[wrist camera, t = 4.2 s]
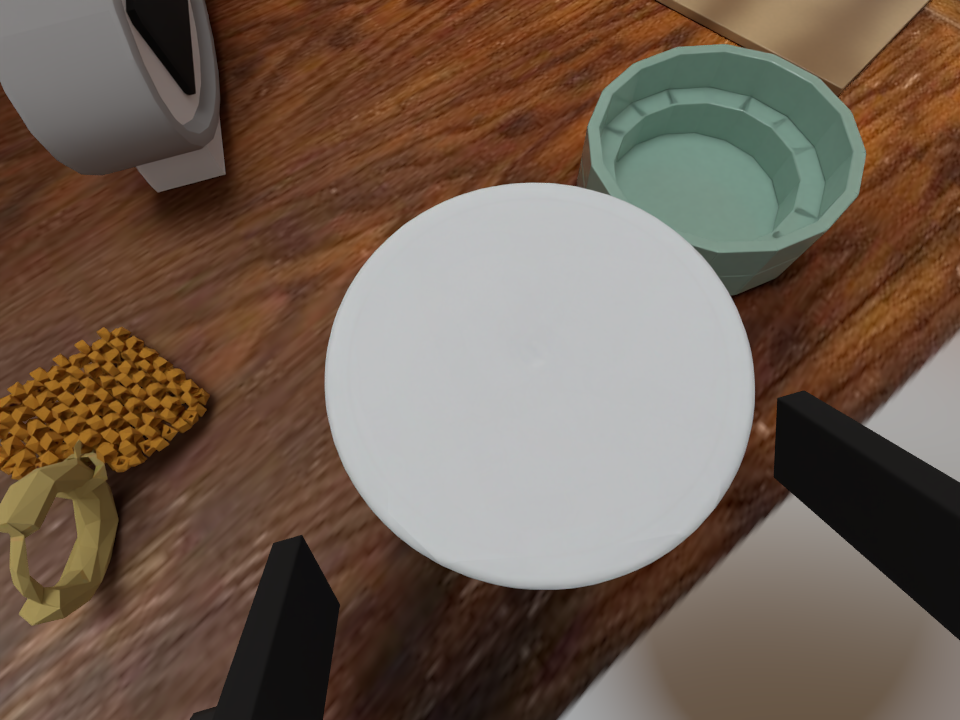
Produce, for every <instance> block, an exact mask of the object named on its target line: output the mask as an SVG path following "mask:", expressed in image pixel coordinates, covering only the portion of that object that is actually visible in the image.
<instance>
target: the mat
mask: <svg viewBox="0 0 960 720" xmlns="http://www.w3.org/2000/svg"><path fill="white" fill-rule="evenodd" d="M656 1H658V2H660V3H662V4H664V5H666V6H668V7H669V8H671V9H673V10H675V11H677V12H679V13H681V14H683V15H685V16H686V17H688V18H690V19H692V20H694V21H696V22H698V23H700V24H702V25H703V26H705V27H707V28H709V29H711V30H713V31H715V32H717V33H719V34H720V35H722V36H724V37H726V38H728V39H730V40H732V41H734V42H735V43H737V44H739V45H741V46H743V47H745V48H747V49H751V50H756V51H761V52H766V53H770V54H774V55H777V56H779V57H780V58H782V59H784V60H786V61H788V62H790V63H792V64H794V65H796V66H798V67H800V68H801V69H803V70H805V71H807V72H809V73H811V74H813V75H815V76H817V77H818V78H820V79H821V80H822V81H823V82H824V83H825V84H826V85H827V86H828V88H829V89H830V90H831V91H832V92H833V93H834V94H835V95H836V96H838V95H839V94H840V93H841V92H842V91H843V90H844V89H845V88H846V87H847V86H848V85H849V84H850V83H851V82H852V81H853V80H854V79H855V78H856V77H857V76H858V74H859V73H860V72H861V71H862V70H863V69H864V68H865V67H866V66H867V65H868V64H869V63H870V62H871V61H872V60H873V59H874V58H875V57H876V56H877V55H878V54H879V53H880V52H881V51H882V50H883V49H884V48H885V47H886V46H887V45H888V44H889V43H890V42H891V41H892V39H893V38H894V37H895V36H896V35H897V34H898V33H899V32H900V31H901V30H902V29H903V28H904V27H905V26H906V25H907V24H908V23H909V22H910V21H911V20H912V19H913V18H914V17H915V16H916V15H917V14H918V13H919V12H920V11H921V10H922V9H923V8H924V7H925V5H926V4H927V3H928V2H929V1H930V0H656Z"/></svg>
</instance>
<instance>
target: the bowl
mask: <svg viewBox="0 0 960 720" xmlns="http://www.w3.org/2000/svg"><path fill="white" fill-rule="evenodd" d="M865 158H866V150H865V147H864V145H863V142H862V139H861V136H860V134H859V131H858V128H857V125H856V122H855V120H854V117H853V114H852V112H851V111H850V110H849V108H848V107H847V106H846V105H845V104H844V103H843V102H842V101H841V100H840V99H839V98H838V97H837V96H836V95H835V94H834V93H833V92H832V91H831V90H830V89H829V88H828V86H827V85H826V84H825V83H824V82H823V81H822V80H821V79H820V78H818V77H817V76H815V75H813V74H811V73H809V72H807V71H805V70H803V69H801V68H800V67H798V66H796V65H794V64H792V63H790V62H788V61H786V60H784V59H782V58H780V57H779V56H777V55H774V54H770V53H766V52H761V51H756V50H751V49H747V48H742V47H737V46H732V45H727V44H726V45H725V44H718V45H702V46H686V47H677V48H673V49H671V50H668V51H665V52H663V53H660V54H657V55H655V56H652V57H649V58H646V59H644V60H641V61H638V62H636V63H634V64H632V65H631V66H630V67H629V68H628V69H627V70H625V71H624V72H623V73H622V74H621V75H620V76H619V77H617V78H616V79H615V80H614V81H613V82H612V83H610V84H609V85H608V86H607V87H606V88H605V89H604V90H603V91H602V93H601V96H600V98H599V100H598V103H597V105H596V107H595V110H594V112H593V114H592V117H591V119H590V121H589V124H588V126H587V132H586V137H585V142H584V147H583V153H582V158H581V163H580V168H579V174H578V179H577V187H581V188H585V189H589V190H593V191H597V192H600V193H603V194H607V195H610V196H613V197H615V198H618V199H620V200H623V201H625V202H627V203H629V204H632V205H634V206H636V207H638V208H640V209H642V210H644V211H645V212H647V213H649V214H651V215H652V216H654V217H656V218H657V219H659V220H660V221H662V222H663V223H665V224H666V225H667V226H669V227H670V228H672V229H673V230H674V231H675V232H677V233H678V234H679V235H681V236H682V237H683V238H684V239H685V240H686V241H687V242H688V243H690V244H691V245H692V246H693V247H694V248H695V249H696V250H697V251H698V252H699V253H700V254H701V255H702V256H703V258H704V259H705V260H706V261H707V262H708V264H709V265H710V266H711V267H712V268H713V270H714V271H715V273H716V274H717V276H718V277H719V278H720V280H721V281H722V283H723V284H724V286H725V288H726V289H727V291H728V292H729V294H730V295H737V294H739V293H742V292H744V291H746V290H749V289H751V288H754V287H756V286H758V285H761V284H763V283H765V282H768V281H770V280H773V279H775V278H777V277H778V276H779V275H780V274H782V273H783V272H784V271H785V270H786V269H787V268H788V267H789V266H790V265H791V264H792V263H793V262H794V261H795V260H796V259H797V258H799V257H800V256H801V255H802V254H803V253H804V252H805V251H806V250H807V249H808V248H809V247H810V246H811V245H812V244H813V243H815V242H816V241H817V240H818V239H819V238H820V237H821V236H822V235H823V234H824V233H825V232H826V231H827V230H828V229H829V228H830V227H831V226H832V225H833V224H834V223H835V221H836V220H837V219H838V218H839V217H840V216H841V215H842V214H843V212H844V211H845V210H846V209H847V208H848V207H849V206H850V205H851V203H852V202H853V201H854V200H855V199H856V198H857V197H858V195H859V190H860V185H861V179H862V174H863V169H864V163H865Z"/></svg>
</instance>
